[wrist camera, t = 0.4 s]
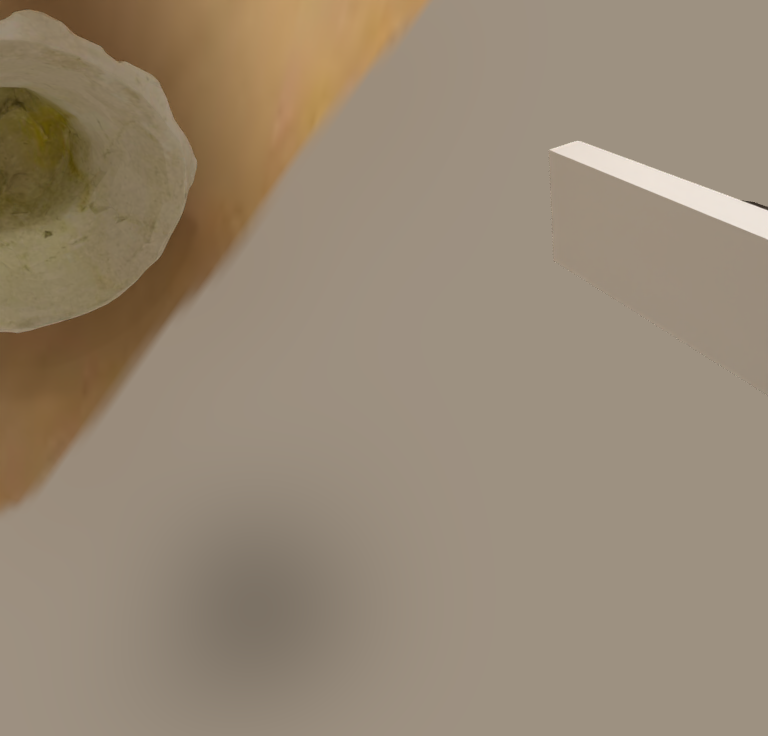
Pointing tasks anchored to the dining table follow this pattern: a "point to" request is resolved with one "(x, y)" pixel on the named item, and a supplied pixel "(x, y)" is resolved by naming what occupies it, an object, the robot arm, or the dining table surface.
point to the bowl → (80, 173)
